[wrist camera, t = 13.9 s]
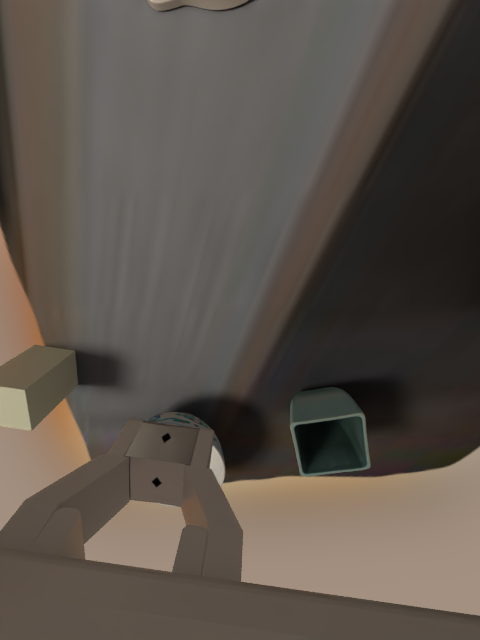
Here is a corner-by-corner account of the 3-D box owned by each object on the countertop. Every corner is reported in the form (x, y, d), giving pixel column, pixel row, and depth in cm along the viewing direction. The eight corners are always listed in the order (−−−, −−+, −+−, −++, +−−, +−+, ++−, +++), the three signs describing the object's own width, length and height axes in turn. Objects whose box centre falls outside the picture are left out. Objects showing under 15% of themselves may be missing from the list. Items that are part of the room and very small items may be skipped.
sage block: (39, 379, 45) (-17, 423, 36) (34, 344, 43) (-27, 382, 34) (78, 384, 45) (31, 430, 36) (75, 350, 43) (24, 390, 34)
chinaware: (119, 420, 47) (94, 458, 40) (187, 372, 43) (173, 405, 36) (180, 476, 51) (168, 520, 44) (248, 437, 47) (247, 479, 40)
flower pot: (282, 382, 43) (289, 424, 35) (343, 372, 42) (365, 413, 33) (293, 428, 46) (300, 478, 38) (349, 420, 45) (371, 469, 36)
